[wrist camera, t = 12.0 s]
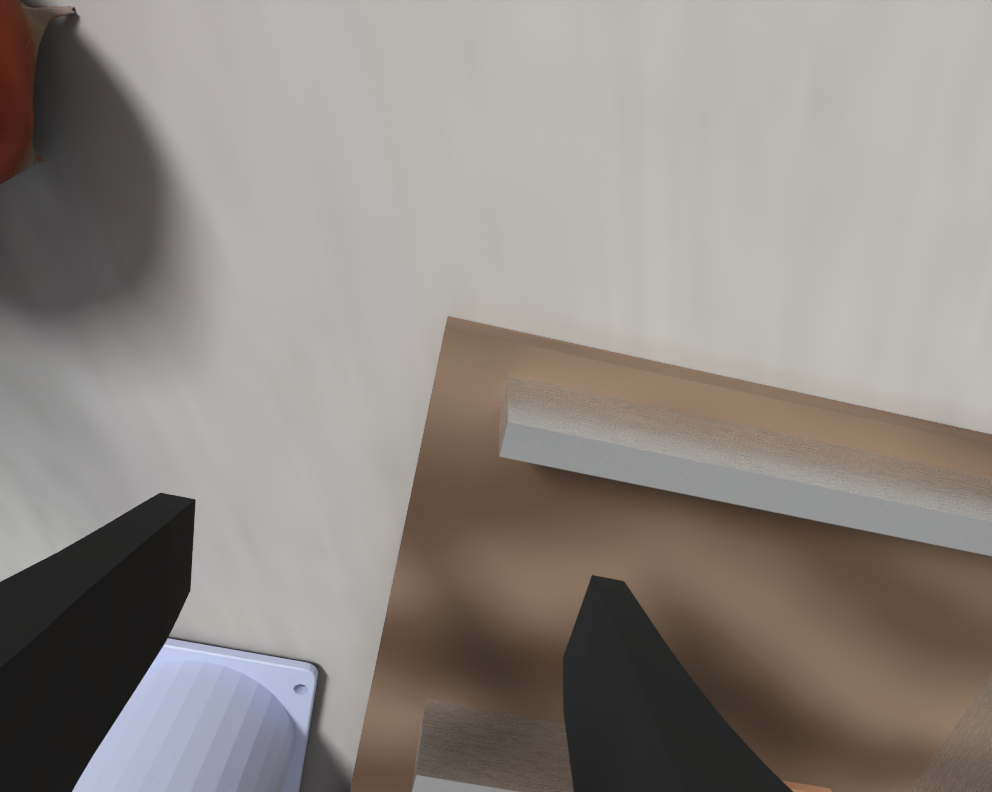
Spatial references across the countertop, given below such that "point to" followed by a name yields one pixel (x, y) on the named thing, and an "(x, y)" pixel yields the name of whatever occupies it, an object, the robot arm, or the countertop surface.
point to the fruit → (20, 81)
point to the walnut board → (675, 578)
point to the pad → (805, 787)
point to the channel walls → (722, 477)
